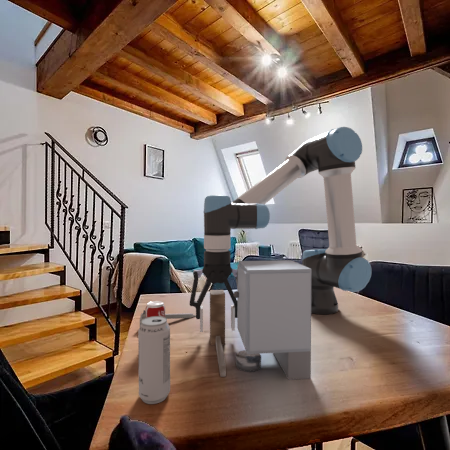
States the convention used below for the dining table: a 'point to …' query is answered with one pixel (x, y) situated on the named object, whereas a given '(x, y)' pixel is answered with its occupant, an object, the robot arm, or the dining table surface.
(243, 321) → the cabinet
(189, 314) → the caliper
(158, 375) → the energy drink can
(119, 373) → the dining table surface
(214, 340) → the wooden mallet
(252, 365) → the disc
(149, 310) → the soda can
